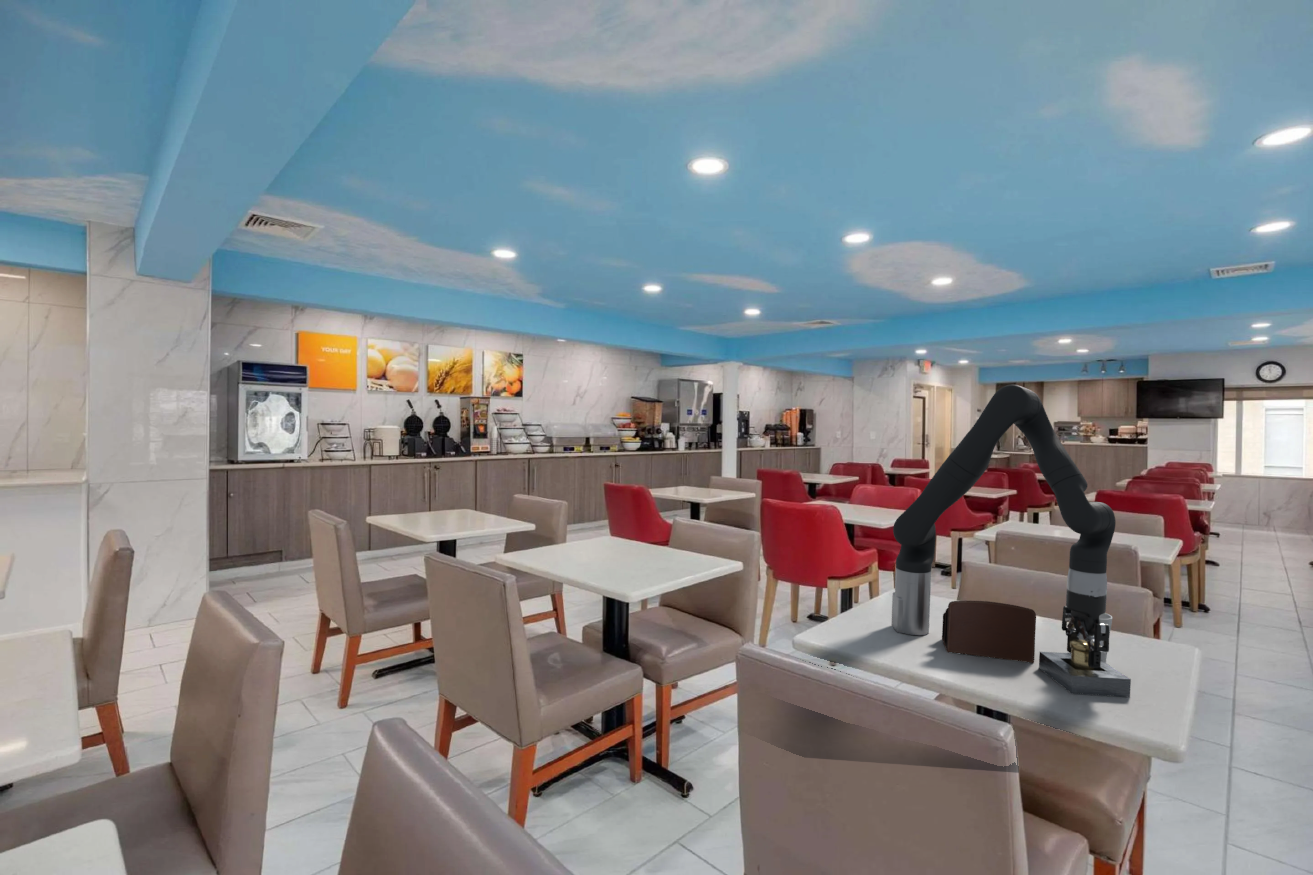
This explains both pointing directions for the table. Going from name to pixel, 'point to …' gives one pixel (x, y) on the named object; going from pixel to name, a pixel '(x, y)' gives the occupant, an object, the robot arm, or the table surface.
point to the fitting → (1080, 655)
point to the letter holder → (990, 630)
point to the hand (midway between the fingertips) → (1083, 659)
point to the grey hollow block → (1084, 676)
